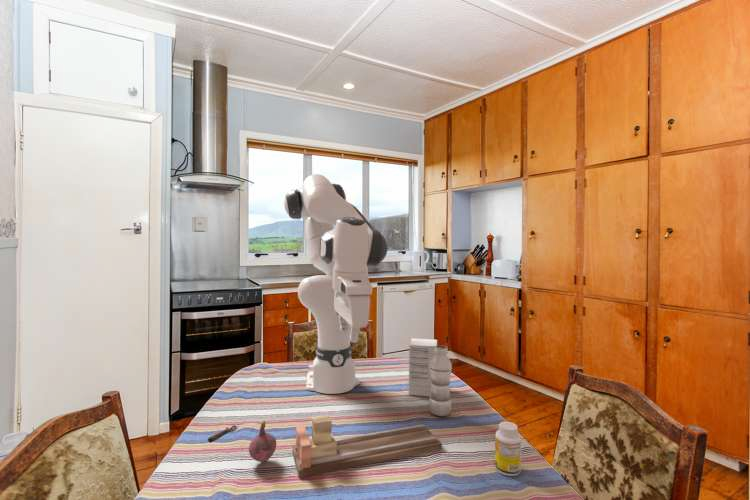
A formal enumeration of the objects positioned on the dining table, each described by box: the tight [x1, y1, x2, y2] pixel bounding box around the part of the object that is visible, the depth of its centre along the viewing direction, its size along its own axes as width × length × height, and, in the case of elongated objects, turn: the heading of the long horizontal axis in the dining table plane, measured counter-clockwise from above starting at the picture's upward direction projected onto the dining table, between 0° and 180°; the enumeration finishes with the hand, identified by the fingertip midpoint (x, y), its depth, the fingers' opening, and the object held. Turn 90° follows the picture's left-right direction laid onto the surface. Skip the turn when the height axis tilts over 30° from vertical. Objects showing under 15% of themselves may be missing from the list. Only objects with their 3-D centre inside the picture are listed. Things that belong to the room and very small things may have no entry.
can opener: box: [207, 424, 239, 442], centre depth 101 cm, size 9×2×1 cm, turn 146°
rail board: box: [292, 423, 443, 479], centre depth 93 cm, size 10×35×6 cm, turn 110°
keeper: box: [308, 414, 337, 459], centre depth 89 cm, size 5×6×8 cm
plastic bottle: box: [428, 345, 453, 417], centre depth 113 cm, size 6×7×20 cm
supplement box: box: [408, 337, 438, 398], centre depth 130 cm, size 10×9×17 cm
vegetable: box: [248, 420, 277, 464], centre depth 88 cm, size 6×6×10 cm
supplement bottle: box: [494, 421, 522, 477], centre depth 87 cm, size 6×6×10 cm
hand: (348, 336), depth 98 cm, fingers open, 8 cm apart
